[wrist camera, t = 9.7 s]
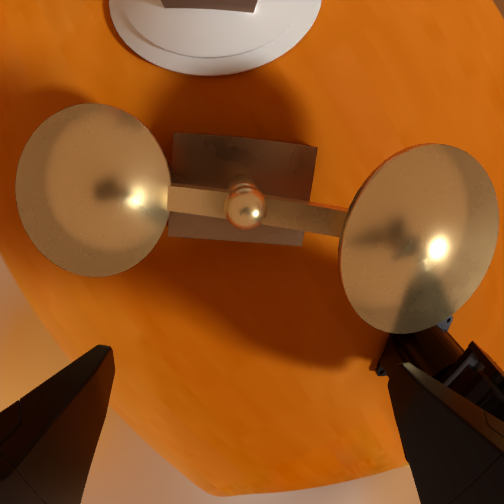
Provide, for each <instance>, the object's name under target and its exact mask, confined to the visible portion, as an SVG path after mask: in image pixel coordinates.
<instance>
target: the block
mask: <svg viewBox="0 0 504 504" xmlns="http://www.w3.org/2000/svg"><path fill="white" fill-rule="evenodd" d="M257 1H258V0H161V2H162V4H163V6H164V8H191V9H214V10H227V11H238V12H248V13H254V10H255V7H256V4H257Z"/></svg>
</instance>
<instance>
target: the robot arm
mask: <svg viewBox="0 0 504 504" xmlns="http://www.w3.org/2000/svg"><path fill="white" fill-rule="evenodd" d="M452 319H453V317H452V316H449V317H448V318H446V319H445V320H443V321H442V322H440V323H438V324H436V325H434V326H432V327H430V328H427V329H425V330H422V331H418V332H414V333H406V334H395V333H391V334H390V337H389V339H388V342H387V344H386V347H385V349H384V351H383V354H382V356H381V359H380V361H379V363H378V366H377V368H376V370H375V372H376V374H377V376H386V375H387V376H388V377H389V381H388V390H389V394H390V398H391V403H392V407H393V411H394V416H395V420H396V424H397V427H398V430H399V434H400V438H401V442H402V446H403V450H404V454H405V458H406V460H407V462H408V463H409V465H410V468H411V471H412V474H413V478H414V481H415V485H416V488H417V491H418V495H419V499H420V502H421V504H504V372H503V370H502V369H501V368H500V367H499V366H498V365H497V364H496V363H495V362H494V361H493V359H492V358H491V357H490V356H489V355H488V354H486V353H485V352H484V351H483V350H482V349H481V348H480V347H479V346H478V345H477V344H476V343H474V342H473V341H472V342H471V343H470V344H469V345H468V348H467V349H466V350H465V351H464V350H463V349H462V347H461V346H460V345H459V344H458V343H457V342H456V341H455V340H454V338H453V337H452V336H451V335H450V334H449V333H448V332H447V331H448V329H449V327H450V324H451V322H452ZM114 375H115V364H114V357H113V350H112V348H111V347H110V346H106V345H97V346H95V347H94V348H92V349H91V350H89V351H88V352H87V353H85V354H84V355H82V356H81V357H79V358H78V359H76V360H75V361H74V362H72V363H71V364H69V365H68V366H66V367H65V368H63V369H62V370H61V371H59V372H58V373H56V374H55V375H53V376H52V377H51V378H49V379H48V380H46V381H45V382H43V383H42V384H41V385H39V386H38V387H36V388H35V389H33V390H32V391H31V392H29V393H28V394H26V395H25V396H24V397H22V398H21V399H20V401H19V400H18V401H16V402H15V403H14V404H12V405H10V406H9V407H8V408H6V409H4V410H3V411H2V412H0V504H80V503H81V499H82V495H83V491H84V488H85V484H86V481H87V476H88V473H89V470H90V466H91V463H92V459H93V456H94V453H95V449H96V446H97V443H98V440H99V436H100V433H101V430H102V427H103V424H104V421H105V417H106V413H107V407H108V403H109V398H110V393H111V388H112V384H113V379H114Z"/></svg>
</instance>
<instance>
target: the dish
mask: <svg viewBox="0 0 504 504" xmlns="http://www.w3.org/2000/svg"><path fill="white" fill-rule="evenodd" d="M320 6H321V0H258V1H257V4H256V7H255V10H254V13H248V12H238V11H227V10H214V9H191V8H164V6H163V4H162V2H161V0H109V8H110V14H111V18H112V21H113V24H114V26H115V28H116V30H117V32H118V34H119V35H120V37H121V38H122V39H123V40H124V42H125V43H126V44H127V45H128V46H129V47H130V48H131V49H132V50H133V51H135V52H136V53H137V54H138V55H140V56H141V57H143V58H144V59H146V60H147V61H149V62H151V63H153V64H155V65H157V66H159V67H161V68H164V69H167V70H170V71H172V72H177V73H182V74H186V75H195V76H222V75H231V74H236V73H241V72H245V71H248V70H252V69H255V68H258V67H260V66H263V65H265V64H267V63H270V62H272V61H273V60H275V59H277V58H278V57H280V56H282V55H283V54H285V53H286V52H287V51H289V50H290V49H291V48H293V47H294V46H295V45H296V44H297V43H298V42H299V41H300V40H301V39H302V38H303V37H304V36H305V34H306V33H307V32H308V30H309V29H310V28H311V26H312V24H313V23H314V21H315V19H316V17H317V15H318V12H319V9H320Z"/></svg>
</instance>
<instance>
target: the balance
mask: <svg viewBox="0 0 504 504" xmlns="http://www.w3.org/2000/svg"><path fill="white" fill-rule="evenodd" d="M317 148H318V147H314V146H310V145H303V144H296V143H289V142H282V141H274V140H266V139H257V138H248V137H238V136H227V135H215V134H202V133H185V132H175V133H174V135H173V147H172V161H171V173H170V169H169V165H168V162H167V159H166V156H165V154H164V151H163V149H162V147H161V146H160V144H159V142H158V140H157V139H156V137H155V136H154V135H153V134H152V132H151V131H150V130H149V129H148V128H147V127H146V126H145V125H144V124H143V123H142V122H141V121H140V120H139V119H137V118H136V117H134V116H133V115H132V114H130V113H128V112H126V111H124V110H122V109H119V108H116V107H113V106H109V105H104V104H92V103H86V104H79V105H74V106H71V107H68V108H65V109H63V110H61V111H59V112H57V113H55V114H53V115H52V116H50V117H49V118H48V119H46V120H45V121H44V122H43V123H42V124H41V125H40V126H39V127H38V128H37V129H36V130H35V132H34V133H33V134H32V136H31V137H30V139H29V140H28V142H27V143H26V145H25V147H24V150H23V152H22V154H21V157H20V160H19V163H18V168H17V173H16V182H15V194H16V202H17V208H18V212H19V216H20V218H21V221H22V224H23V226H24V228H25V230H26V232H27V234H28V236H29V238H30V239H31V241H32V242H33V244H34V245H35V246H36V247H37V249H38V250H39V251H40V252H41V253H42V254H43V255H44V256H45V257H46V258H48V259H49V260H50V261H51V262H53V263H54V264H56V265H57V266H59V267H60V268H62V269H64V270H67V271H69V272H71V273H75V274H78V275H82V276H88V277H104V276H111V275H115V274H118V273H121V272H123V271H126V270H128V269H130V268H131V267H133V266H135V265H136V264H137V263H139V262H140V261H141V260H143V259H144V258H145V257H146V256H147V255H148V254H149V252H150V251H151V250H152V249H153V247H154V246H155V245H156V243H157V242H158V240H159V238H160V236H161V234H162V232H163V231H164V228H165V226H166V223H167V221H168V236H169V237H184V238H198V239H212V240H225V241H239V242H252V243H266V244H279V245H292V246H302V242H303V236H304V231H307V232H313V233H319V234H324V235H330V236H336V237H340V240H339V246H338V269H339V276H340V280H341V285H342V288H343V290H344V293H345V295H346V297H347V299H348V300H349V302H350V304H351V305H352V307H353V308H354V310H355V311H356V312H357V314H358V315H359V316H360V317H361V318H362V319H363V320H364V321H365V322H367V323H368V324H369V325H371V326H373V327H374V328H376V329H379V330H382V331H384V332H389V333H395V334H406V333H414V332H418V331H422V330H425V329H427V328H430V327H432V326H434V325H436V324H438V323H440V322H442V321H443V320H445V319H446V318H448V317H449V316H451V315H452V314H453V313H454V312H456V311H457V310H458V309H459V308H460V307H461V306H462V305H463V304H464V303H465V302H466V301H467V300H468V299H469V298H470V296H471V295H472V294H473V293H474V291H475V290H476V289H477V287H478V286H479V284H480V283H481V281H482V279H483V277H484V276H485V274H486V272H487V269H488V267H489V265H490V262H491V260H492V257H493V254H494V251H495V247H496V243H497V237H498V228H499V210H498V202H497V198H496V193H495V190H494V187H493V185H492V182H491V180H490V178H489V176H488V174H487V172H486V171H485V170H484V168H483V167H482V166H481V164H480V163H479V162H478V161H477V160H476V159H475V158H474V157H472V156H471V155H469V154H468V153H467V152H465V151H463V150H461V149H459V148H456V147H453V146H449V145H444V144H437V143H426V144H418V145H414V146H411V147H408V148H405V149H403V150H401V151H399V152H397V153H395V154H394V155H392V156H391V157H389V158H388V159H386V160H385V161H384V162H383V163H382V164H380V165H379V166H378V167H377V168H376V169H375V170H374V171H373V172H372V173H371V174H370V176H369V177H368V178H367V179H366V180H365V181H364V183H363V184H362V186H361V187H360V189H359V190H358V192H357V193H356V195H355V197H354V199H353V201H352V203H351V205H350V207H349V208H344V207H339V206H333V205H327V204H321V203H316V202H310V194H311V188H312V182H313V175H314V168H315V162H316V155H317ZM168 217H169V218H168Z"/></svg>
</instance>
